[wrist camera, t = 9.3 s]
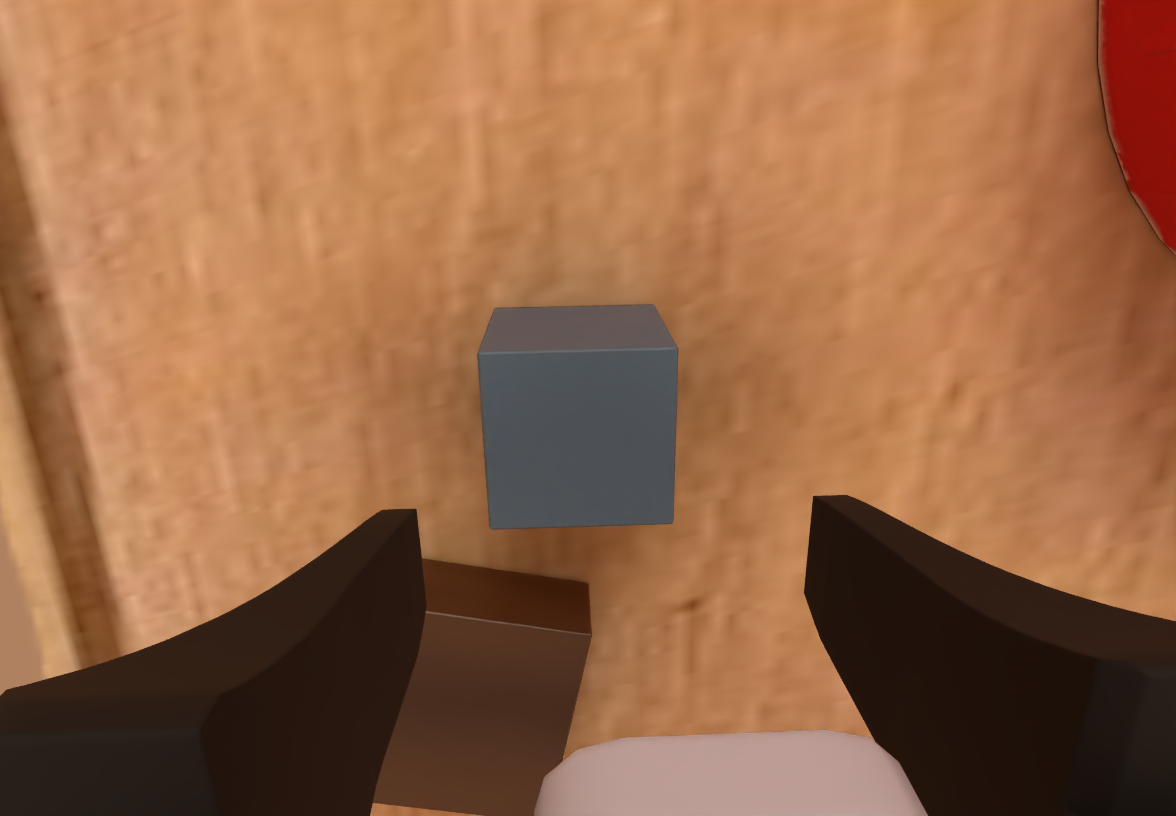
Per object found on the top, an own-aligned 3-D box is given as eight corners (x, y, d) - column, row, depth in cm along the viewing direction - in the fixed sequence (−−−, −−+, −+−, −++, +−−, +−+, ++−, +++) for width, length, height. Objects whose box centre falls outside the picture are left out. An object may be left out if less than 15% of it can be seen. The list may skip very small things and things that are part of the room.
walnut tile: (548, 758, 26) (547, 824, 23) (338, 732, 25) (314, 797, 23) (588, 582, 23) (592, 634, 21) (357, 548, 23) (333, 598, 20)
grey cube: (652, 451, 22) (673, 524, 18) (502, 455, 22) (489, 531, 18) (654, 303, 20) (679, 347, 16) (494, 307, 20) (476, 352, 16)
